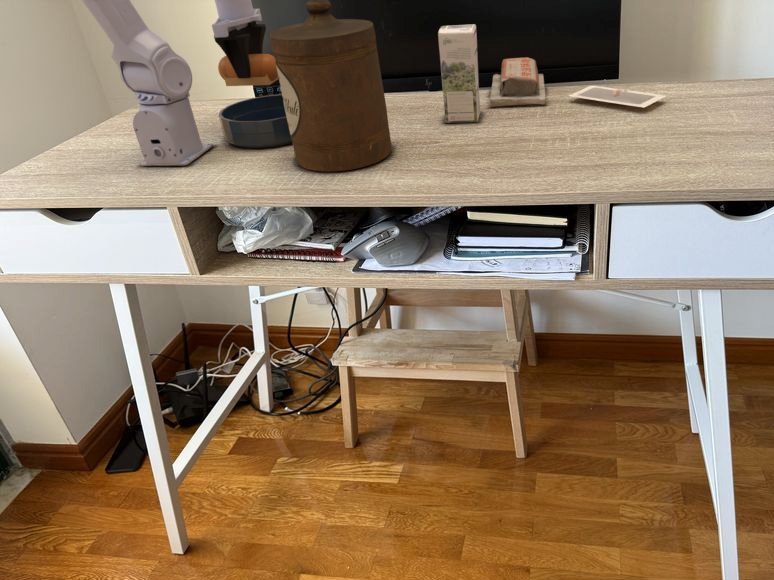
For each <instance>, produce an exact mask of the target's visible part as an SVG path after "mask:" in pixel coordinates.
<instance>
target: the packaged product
mask: <svg viewBox="0 0 774 580" xmlns="http://www.w3.org/2000/svg"><path fill="white" fill-rule="evenodd" d="M537 66H538V65H537V61H536V60H535V59H534V58H530V57H528V56H526V57H513V58H512V57H511V58H504V59H502V62H501V67H500V70H501V71H500V74H498V73H495V74H493V75H492V84H491V90H490V96H489V97H490V98H489V102H490V107H491V108H494V107H495V108H496V107H505V106H528V105H529V106H531V105H532V106H533V105H543V106H544V105H546V99H547V97H546V89H545V79H544V74H543V73H539V71H538V67H537Z"/></svg>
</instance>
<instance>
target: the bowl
mask: <svg viewBox="0 0 774 580" xmlns="http://www.w3.org/2000/svg"><path fill="white" fill-rule="evenodd" d="M217 116H218V119H219V122H220V126H221V130H222V134H223V137H224V139H225V140H226V142H227V143H230V144H231V145H233V146H236V147H239V148H245V149H267V148H276V147H281V146H282V147H283V146H286V145H291V144H293V143H292V139H291V135H290V130H289V126H288V122H287V117H286V112H285V108H284V103H283V97H282V93H281V94H280V93H279V94H271V95H263V96H256V97H250V98H248V99H243V100H240V101H236V102H234V103H231V104H229V105H227V106H225V107H224V108H222V109H221V110H220V111H219V113H218V114H217Z"/></svg>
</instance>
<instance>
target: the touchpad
mask: <svg viewBox="0 0 774 580" xmlns="http://www.w3.org/2000/svg"><path fill="white" fill-rule="evenodd" d="M568 97H572V98H579V99H584V100H590V101H591V100H592V101H598V102H604V103H611V104H616V105H617V104H618V105H624V106H630V107H636V108H644V109H645V108H647V107H649V106H651V105H652V104H654V103H657V102H658V101H660V100H662V99H664V98H666V97H667V95H664V94H657V93H650V92H643V91H636V90H635V91H634V90H628V89H621V88H614V87H606V86H600V85H593V84H592V85H589V86H587V87H585V88H582V89H581V90H578V91H576V92H573V93H571V94H569V95H568Z"/></svg>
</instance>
